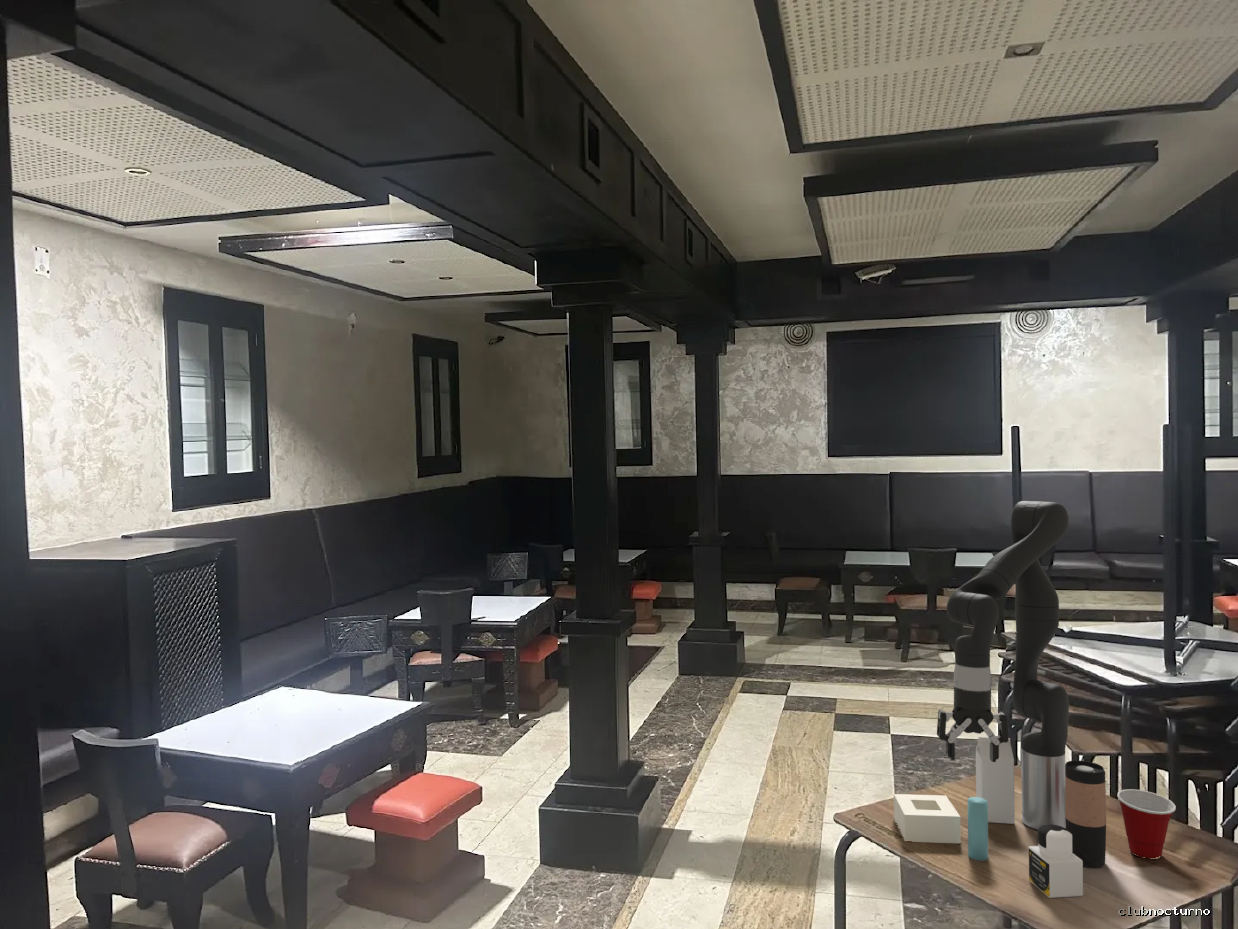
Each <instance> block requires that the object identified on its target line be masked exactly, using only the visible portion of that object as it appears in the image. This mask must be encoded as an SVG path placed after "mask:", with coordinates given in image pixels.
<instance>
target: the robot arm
mask: <svg viewBox="0 0 1238 929" xmlns="http://www.w3.org/2000/svg"><path fill="white" fill-rule="evenodd" d="M1010 517H1011V519H1010V527H1011V528H1010V530H1011V538H1012V545H1010V546H1009V547H1007V548H1005V549H1003V550H1001V551H999V552H997V553H996V554H995V555H993V556H992V557H991V559H989V560H988V562H987V563H986V564H985V565H984V566H983V568H982V569H981V570H980V571H979V573H978V574H977V576H974V577H973V578H972V579H969V580H968V581H967V582H965V583H964V584H962V585H961V586H960V587H958V588H956V590H954V592H953V593H952V594H951V595H950V597H949V598H948V601H947V603H946V613H947V615H948V618H949V619H950V620H951V621H952V622H954V623H957V624H960V625H966V626H971V627H973V629H972V632H971V634H969V635H961V636H959V637H957V638H956V640H955V643H954V646H955V647H954V655H955V656H954V669H953V708H952V711H947V710H945V711H944V709H940V708H939V710H938V711H937V723H936V735H937V737H938V738H939V739H940V740H941V741H945V754H946V756H947V757H948V758H949V759H950V761H955V760H956V758H955V757H956V747H955V746H956V745H955V744H956V743H954V742H955V741H956V739H957V738H958V737H960V736H961V734H963V733H965V734H971V733H974V734H979V735H980V734H982V733H985V734H986V736H987V737H989V739H990V740H991V742H990V760H991V761H992V762H996V759H998V758H999V745H1000V744H1001V743H1003V742H1005V743H1006V742H1008V738H1009V728H1008V725H1009V724H1008V716H1007V715H1006V714H1005V713H1004V712H1002V711H998V713H993V712H992V686H993V684H992V683H993V682H992V674H991V673H992V671H991V645H992V641H993V638H994V633H995V631H996V627H997V625H998V620H999V618H1000V616H999V615H1000V609H999V606H998V603H997V601H999V600H1002V599H1003V598H1004V597H1005V596H1006V595H1008V592H1010V590H1011V589H1012V587H1013V586H1014V584H1015V595H1014V596H1015V598H1014V601H1015V604H1014V607H1015V608H1014V609H1015V612H1014V614H1015V660H1014V661H1015V662H1014V673H1013V684H1012V703H1013V708H1014V710H1015V712H1016V714H1018V715H1019V716H1020V717H1022V718H1026V719H1030V720H1034V721H1035V722H1036V721H1037V722H1040V723H1041V729H1040V730H1041V731H1034V732H1027V733H1025V734H1023V735H1022V736H1021V740H1020V741H1021V743H1020V748H1021V751H1020V753H1021V755H1020V756H1021V820H1022V823H1023V824H1024V825H1025V826H1027V827H1029V828H1032V829H1034V830H1037V831H1038V828H1039V827H1040V826H1042V825H1048V824H1052V825H1058V826H1061V827H1064V828H1066V822H1065V764H1066V746H1067V740H1068V735H1069V731H1068V730H1069V711H1070V700H1069V695H1068V692H1067V690H1066V689H1065V688H1064V687H1063V686H1062V685H1060V684H1057V683H1052V682H1048V681H1043V680H1040V679H1038V669H1039V668H1038V667H1039V661H1040V658H1041V656H1042V654H1043V653H1044V651H1045V649H1046V648H1047V647H1048V645H1049V644H1050V642H1052V640H1053V638H1054V637H1055V635H1056V633H1057V632H1058V629H1059V626H1060V599H1059V596H1058V593H1057V591H1056V589H1055V587H1054V585H1053V583H1052V581H1051V580H1050V578H1049V576H1048V575H1047V574H1046V572H1045V570H1044V568H1043V567H1042V564H1041V562H1040V560H1039V559H1040V558H1041V557H1042V556H1043V555H1045V554H1046V553H1047V551H1049V550H1050V549H1051V548H1052V547H1054V546H1055V545H1056V544H1057V543H1058V542H1059V541H1060V540H1061V539H1062V538H1063V537H1064V535H1065V534H1066V533H1067V530H1068V527H1069V520H1070V519H1069V514H1068V511H1067V509H1066V508H1065V507H1064V506H1063V505H1062V504H1061V503H1059V502H1055V501H1054V502H1053V501H1039V500H1037V501H1036V500H1035V501H1034V500H1033V501H1031V500H1021V501H1018V502H1017V503H1015V505H1014V506H1013V508H1012V512H1011V516H1010ZM951 718H952V719H953V720H954V723H953V725H952V726H951V727H950V729H949V731H948V732H947V731H946V730H947V729H946V728H947V723H948V722H949V721H950V719H951ZM994 720H995V723H997V724H998V735H995V733H994V732H993V731H992V729H991V728H990V724H991V723H992V722H993V721H994ZM946 732H947V733H946Z"/></svg>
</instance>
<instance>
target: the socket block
mask: <svg viewBox="0 0 1238 929" xmlns="http://www.w3.org/2000/svg"><path fill="white" fill-rule="evenodd" d="M894 819H895V820H894ZM893 820H894V823H895V824H896V823H897V824H896V826H897V825H898V826H897V828H898V830H899V829H900V830H899V832H900V831H901V832H900V835H901V836H902V835H903V836H902V838H903V837H904V838H903V841H905V840H908V841H912V842H911V843H938V844H961V839H962V837H961V815H960V814H959V813H958V811H957V809H956V807H955V806H954V805H953V804H952V802H951V801H950V800H949V798H948V797H947V795H940V794H939V795H937V794H910V793H908V794H904V793H903V794H902V793H893Z"/></svg>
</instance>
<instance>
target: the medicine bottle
mask: <svg viewBox="0 0 1238 929" xmlns="http://www.w3.org/2000/svg"><path fill="white" fill-rule="evenodd" d="M1037 834H1038V835H1037V841H1038V842H1037V843H1038V845H1032V846H1031V845H1030V846H1028V880H1029V882H1030V883H1031V884H1032V885H1033V886H1035V888H1037V889H1038V890H1039V891H1041V892H1042V893H1043V894H1044V895H1045V896H1046V897H1047V898H1049V899H1054V898H1055V899H1057V898H1072V897H1075V898H1076V897H1083V896H1084V875H1083V873H1084V870H1083V868H1084V867H1083V861H1082V860H1081V859H1080V858H1078V857H1077V856H1076V855H1074V854H1073V853H1072V834H1071V832H1070V831H1069V830H1067V829H1066V828H1064V827H1061V826H1058V825H1052V824H1048V825H1042V826H1040V827H1039V828H1038V830H1037Z"/></svg>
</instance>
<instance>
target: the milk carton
mask: <svg viewBox="0 0 1238 929" xmlns="http://www.w3.org/2000/svg"><path fill="white" fill-rule="evenodd" d="M990 742H991V740H990V739H989V737H988V736H987V737H986V736H978V741H977V745H976V747H975V797H979V798H983V799H985V800H987V801H988V823H996V824H1009V825H1010V824H1012V825H1014V824H1015V821H1016V820H1015V819H1016V818H1015V817H1016V814H1015V759H1014V754H1013V753H1014V752H1013V749H1012V744H1011V738H1009V737H1008V742H1006V743H1005V742H1003V743H1001V744H1000V745H999V758H998V759H996V762H992V761H991V760H990Z"/></svg>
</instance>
